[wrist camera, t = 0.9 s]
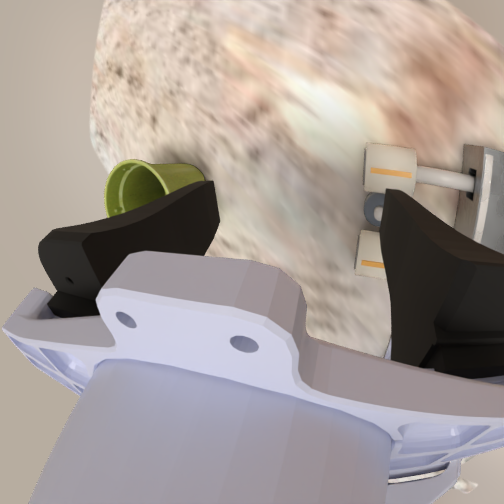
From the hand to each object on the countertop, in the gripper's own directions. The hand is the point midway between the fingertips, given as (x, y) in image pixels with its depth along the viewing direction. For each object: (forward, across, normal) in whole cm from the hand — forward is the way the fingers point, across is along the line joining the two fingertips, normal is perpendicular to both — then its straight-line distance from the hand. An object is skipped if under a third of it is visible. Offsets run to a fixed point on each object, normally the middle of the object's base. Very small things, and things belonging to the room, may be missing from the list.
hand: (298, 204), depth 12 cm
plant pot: (+17, +15, +8) cm, 24 cm away
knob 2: (+13, -10, +3) cm, 17 cm away
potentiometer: (+14, -6, +7) cm, 17 cm away
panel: (+12, -17, +7) cm, 22 cm away
